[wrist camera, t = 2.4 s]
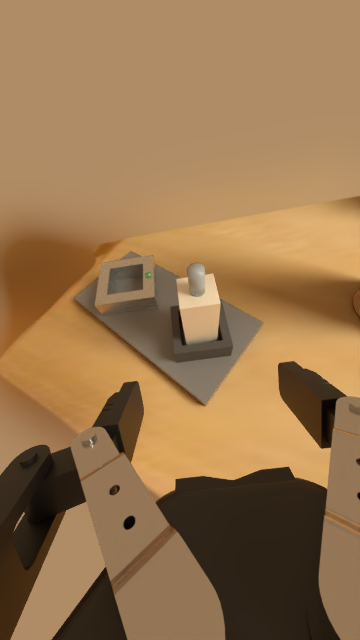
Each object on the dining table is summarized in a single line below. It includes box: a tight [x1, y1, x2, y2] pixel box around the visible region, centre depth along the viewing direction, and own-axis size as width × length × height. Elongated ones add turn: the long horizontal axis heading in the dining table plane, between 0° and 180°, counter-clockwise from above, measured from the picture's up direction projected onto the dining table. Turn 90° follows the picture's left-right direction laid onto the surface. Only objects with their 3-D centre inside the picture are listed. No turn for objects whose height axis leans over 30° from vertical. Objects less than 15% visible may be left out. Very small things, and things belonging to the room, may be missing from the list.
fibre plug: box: [176, 263, 221, 345], centre depth 24 cm, size 4×4×13 cm
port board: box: [74, 251, 263, 406], centre depth 34 cm, size 14×28×2 cm, turn 51°
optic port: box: [95, 255, 159, 316], centre depth 34 cm, size 9×9×3 cm
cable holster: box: [170, 299, 233, 363], centre depth 29 cm, size 7×7×3 cm
